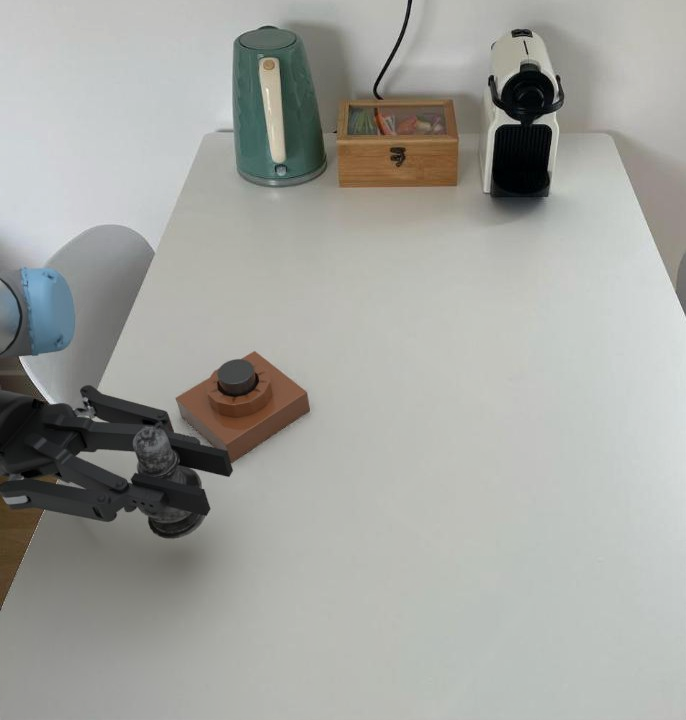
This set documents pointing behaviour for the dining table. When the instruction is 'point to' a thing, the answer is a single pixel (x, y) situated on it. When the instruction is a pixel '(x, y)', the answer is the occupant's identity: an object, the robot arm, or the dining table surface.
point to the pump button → (237, 378)
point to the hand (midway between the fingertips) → (216, 482)
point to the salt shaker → (164, 464)
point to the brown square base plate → (244, 409)
